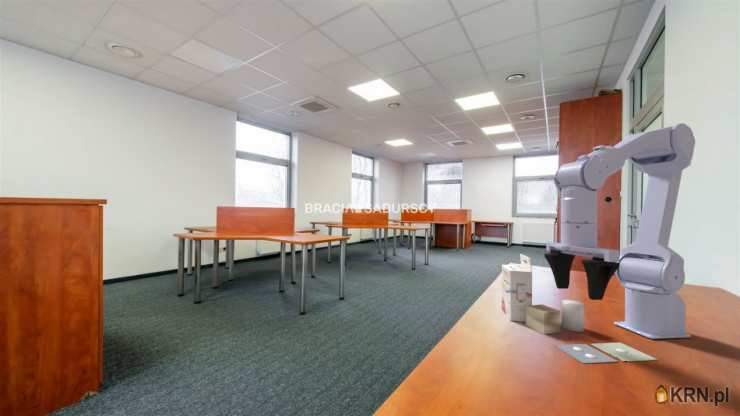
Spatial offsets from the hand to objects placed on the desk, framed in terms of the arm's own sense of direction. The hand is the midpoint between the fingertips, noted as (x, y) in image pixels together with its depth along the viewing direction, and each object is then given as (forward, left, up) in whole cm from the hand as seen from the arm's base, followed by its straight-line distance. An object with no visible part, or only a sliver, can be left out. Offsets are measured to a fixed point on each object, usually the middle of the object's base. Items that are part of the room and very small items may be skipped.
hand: (578, 293), depth 56 cm
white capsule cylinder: (-5, -7, -10) cm, 13 cm away
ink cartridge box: (+3, -15, -10) cm, 18 cm away
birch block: (+2, -7, -10) cm, 12 cm away
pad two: (+2, +4, -10) cm, 11 cm away
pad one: (-5, +4, -10) cm, 12 cm away
